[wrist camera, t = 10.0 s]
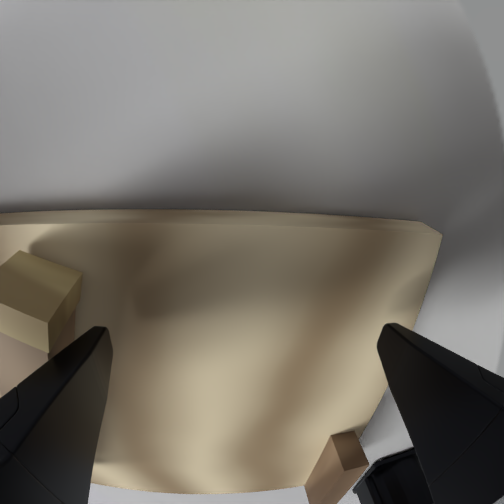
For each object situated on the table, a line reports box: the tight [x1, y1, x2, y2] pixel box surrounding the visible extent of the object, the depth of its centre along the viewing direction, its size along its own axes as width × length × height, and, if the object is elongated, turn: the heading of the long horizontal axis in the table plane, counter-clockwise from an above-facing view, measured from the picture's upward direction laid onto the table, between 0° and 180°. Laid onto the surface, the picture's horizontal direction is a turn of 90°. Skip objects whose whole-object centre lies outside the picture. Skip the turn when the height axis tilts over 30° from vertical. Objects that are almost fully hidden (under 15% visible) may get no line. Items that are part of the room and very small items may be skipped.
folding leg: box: [0, 250, 83, 396], centre depth 9 cm, size 12×2×3 cm, turn 159°
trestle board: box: [0, 209, 443, 504], centre depth 10 cm, size 22×18×5 cm
